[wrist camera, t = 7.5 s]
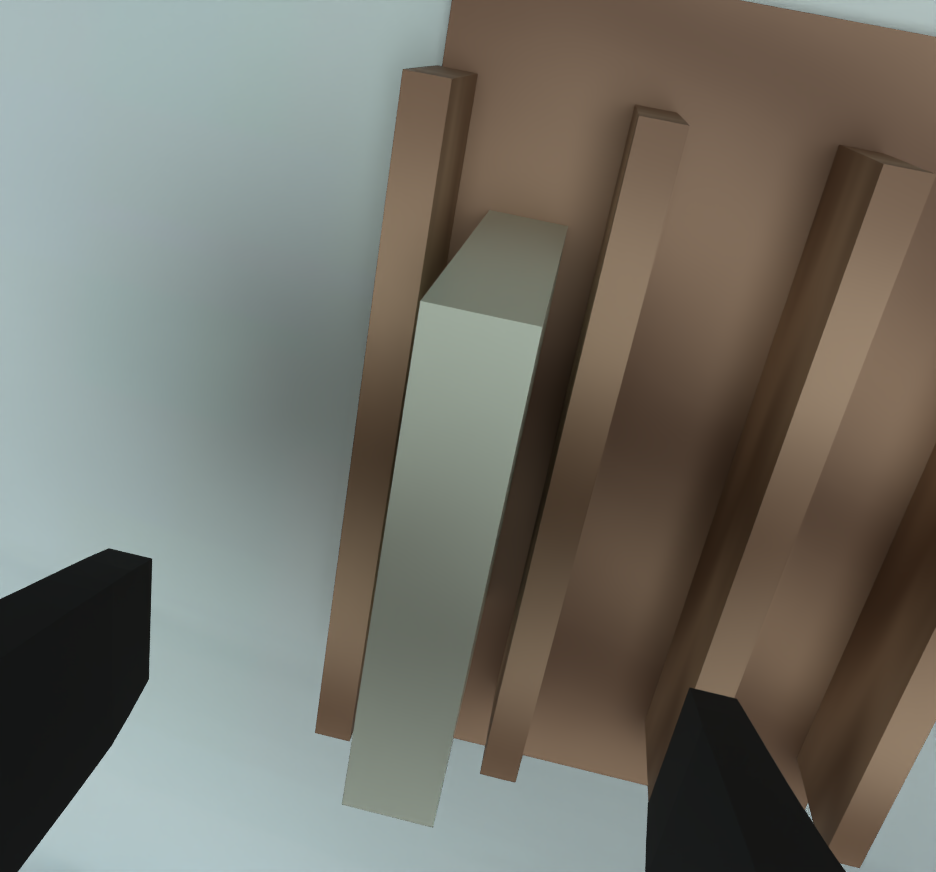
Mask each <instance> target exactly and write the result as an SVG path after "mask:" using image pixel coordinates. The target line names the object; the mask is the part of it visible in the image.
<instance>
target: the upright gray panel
mask: <svg viewBox="0 0 936 872" xmlns="http://www.w3.org/2000/svg"><path fill="white" fill-rule="evenodd" d="M567 229H568V226H565V225H560V224H555V223H550V222H546V221H541V220H536V219H531V218H526V217H521V216H516V215H512V214H507V213H502V212H497V211H492V210H489V211H488V213H487V214H486V215H485V217H484V218H483V219H482V221H481V222H480V223H479V225H478V226H477V227H476V228H475V230H474V231H473V232H472V234H471V235H470V236H469V238H468V239H467V240H466V242H465V243H464V244H463V246H462V247H461V248H460V250H459V251H458V252H457V253H456V255H455V256H454V257H453V259H452V260H451V261H450V263H449V264H448V265H447V267H446V268H445V269H444V271H443V272H442V273H441V274H440V276H439V277H438V278H437V280H436V281H435V282H434V284H433V285H432V286H431V288H430V289H429V290H428V292H427V293H426V294H425V296H424V297H423V298H422V299H421V301H420V307H419V313H418V320H417V326H416V332H415V339H414V345H413V352H412V358H411V364H410V371H409V377H408V384H407V390H406V396H405V403H404V409H403V416H402V422H401V429H400V435H399V441H398V448H397V454H396V461H395V467H394V473H393V480H392V486H391V493H390V499H389V506H388V512H387V518H386V525H385V531H384V538H383V544H382V550H381V557H380V563H379V570H378V576H377V582H376V589H375V595H374V602H373V608H372V615H371V621H370V627H369V634H368V640H367V647H366V653H365V659H364V666H363V672H362V679H361V685H360V692H359V698H358V704H357V711H356V717H355V724H354V730H353V736H352V743H351V749H350V756H349V762H348V769H347V775H346V781H345V788H344V794H343V801H342V805H346V806H350V807H354V808H358V809H362V810H366V811H369V812H373V813H377V814H381V815H385V816H389V817H393V818H397V819H401V820H405V821H409V822H413V823H417V824H421V825H425V826H429V827H433V825H434V821H435V816H436V812H437V808H438V804H439V799H440V795H441V791H442V786H443V782H444V778H445V773H446V769H447V765H448V760H449V756H450V752H451V747H452V743H453V739H454V735H455V730H456V726H457V722H458V717H459V713H460V709H461V704H462V700H463V696H464V691H465V687H466V683H467V679H468V674H469V670H470V666H471V661H472V657H473V653H474V648H475V644H476V640H477V635H478V631H479V627H480V623H481V618H482V614H483V610H484V605H485V601H486V597H487V592H488V588H489V583H490V579H491V574H492V569H493V565H494V560H495V556H496V551H497V547H498V542H499V538H500V533H501V529H502V524H503V520H504V515H505V511H506V506H507V501H508V497H509V492H510V488H511V483H512V479H513V474H514V470H515V465H516V461H517V456H518V452H519V447H520V443H521V438H522V433H523V429H524V424H525V420H526V415H527V411H528V406H529V402H530V397H531V393H532V388H533V384H534V379H535V375H536V370H537V365H538V361H539V356H540V352H541V347H542V343H543V338H544V334H545V329H546V325H547V320H548V316H549V311H550V307H551V302H552V297H553V293H554V288H555V284H556V279H557V275H558V270H559V266H560V261H561V257H562V252H563V248H564V243H565V239H566V234H567Z"/></svg>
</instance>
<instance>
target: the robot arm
mask: <svg viewBox="0 0 936 872" xmlns="http://www.w3.org/2000/svg"><path fill="white" fill-rule="evenodd" d="M151 582H152V559H151V558H147V557H143V556H138V555H134V554H130V553H126V552H122V551H118V550H113V549H106V550H104V551H102V552H99V553H97V554H94V555H92V556H90V557H88V558H86V559H83V560H81V561H79V562H77V563H75V564H73V565H71V566H69V567H66V568H64V569H62V570H60V571H58V572H56V573H54V574H52V575H50V576H48V577H46V578H44V579H41V580H39V581H37V582H35V583H33V584H31V585H29V586H27V587H25V588H23V589H21V590H19V591H16V592H14V593H12V594H10V595H8V596H6V597H4V598H2V599H0V872H18V871H19V869H20V868H21V867H22V865H23V864H24V863H25V861H26V860H27V859H28V857H29V856H30V855H31V853H32V852H33V851H34V849H35V848H36V847H37V845H38V844H39V843H40V841H41V840H42V839H43V837H44V836H45V835H46V833H47V832H48V831H49V829H50V828H51V827H52V825H53V824H54V823H55V821H56V820H57V819H58V817H59V816H60V815H61V813H62V812H63V811H64V809H65V808H66V807H67V805H68V804H69V803H70V801H71V800H72V799H73V797H74V796H75V795H76V793H77V792H78V791H79V789H80V788H81V787H82V785H83V784H84V783H85V781H86V780H87V778H88V777H89V776H90V774H91V773H92V772H93V770H94V769H95V768H96V766H97V765H98V764H99V762H100V761H101V759H102V758H103V757H104V755H105V754H106V752H107V751H108V750H109V748H110V747H111V746H112V744H113V742H114V740H115V739H116V737H117V735H118V734H119V732H120V730H121V728H122V727H123V725H124V723H125V722H126V720H127V718H128V716H129V715H130V713H131V711H132V709H133V707H134V705H135V704H136V702H137V700H138V698H139V696H140V694H141V693H142V691H143V689H144V687H145V685H146V684H147V682H148V680H149V653H150V617H151ZM645 872H846V871H845V870H844V869H843V867H842V866H841V864H840V863H839V861H838V860H837V858H836V857H835V855H834V854H833V853H832V851H831V850H830V848H829V847H828V845H827V844H826V842H825V841H824V839H823V838H822V836H821V834H820V833H819V831H818V830H817V828H816V827H815V825H814V824H813V822H812V821H811V819H810V818H809V816H808V814H807V813H806V811H805V810H804V808H803V807H802V805H801V804H800V802H799V800H798V799H797V797H796V796H795V794H794V792H793V791H792V789H791V788H790V786H789V784H788V783H787V781H786V779H785V778H784V776H783V774H782V773H781V771H780V769H779V768H778V766H777V764H776V763H775V761H774V759H773V758H772V756H771V754H770V753H769V751H768V749H767V748H766V746H765V744H764V743H763V741H762V739H761V738H760V736H759V734H758V733H757V731H756V729H755V728H754V726H753V724H752V722H751V721H750V719H749V718H748V716H747V714H746V713H745V711H744V709H743V708H742V706H741V704H740V703H739V701H738V699H736V698H732V697H728V696H724V695H719V694H715V693H711V692H707V691H703V690H699V689H694V688H690V687H689V690H688V693H687V695H686V698H685V701H684V704H683V707H682V709H681V712H680V715H679V718H678V721H677V723H676V726H675V729H674V732H673V735H672V737H671V740H670V743H669V746H668V749H667V752H666V754H665V757H664V760H663V763H662V766H661V768H660V771H659V774H658V777H657V780H656V782H655V785H654V788H653V791H652V794H651V797H650V799H649V802H648V814H647V836H646V866H645Z"/></svg>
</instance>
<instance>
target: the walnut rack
mask: <svg viewBox="0 0 936 872" xmlns="http://www.w3.org/2000/svg"><path fill="white" fill-rule="evenodd" d="M489 210H492V211H497V212H502V213H507V214H512V215H516V216H521V217H526V218H531V219H536V220H541V221H546V222H550V223H555V224H560V225H565V226H568V229H567V234H566V239H565V243H564V248H563V252H562V257H561V261H560V266H559V270H558V275H557V279H556V284H555V288H554V293H553V297H552V302H551V307H550V311H549V316H548V320H547V325H546V329H545V334H544V338H543V343H542V347H541V352H540V356H539V361H538V365H537V370H536V375H535V379H534V384H533V388H532V393H531V397H530V402H529V406H528V411H527V415H526V420H525V424H524V429H523V433H522V438H521V443H520V447H519V452H518V456H517V461H516V465H515V470H514V474H513V479H512V483H511V488H510V492H509V497H508V501H507V506H506V511H505V515H504V520H503V524H502V529H501V533H500V538H499V542H498V547H497V551H496V556H495V560H494V565H493V569H492V574H491V579H490V583H489V588H488V592H487V597H486V601H485V605H484V610H483V614H482V618H481V623H480V627H479V631H478V635H477V640H476V644H475V648H474V653H473V657H472V661H471V666H470V670H469V674H468V679H467V683H466V687H465V691H464V696H463V700H462V704H461V709H460V713H459V717H458V722H457V726H456V730H455V735H454V738H456V739H460V740H464V741H468V742H472V743H476V744H480V745H485V750H484V755H483V760H482V766H481V771H480V774H483V775H487V776H491V777H495V778H499V779H503V780H507V781H511V782H516V778H517V774H518V770H519V767H520V763H521V759H522V755H525V756H529V757H533V758H537V759H541V760H545V761H550V762H554V763H558V764H562V765H566V766H570V767H574V768H578V769H582V770H586V771H590V772H594V773H598V774H602V775H606V776H610V777H614V778H619V779H623V780H627V781H631V782H635V783H639V784H643V785H647V786H648V801H649V799H650V797H651V794H652V791H653V788H654V785H655V782H656V780H657V777H658V774H659V771H660V768H661V766H662V763H663V760H664V757H665V754H666V752H667V749H668V746H669V743H670V740H671V737H672V735H673V732H674V729H675V726H676V723H677V721H678V718H679V715H680V712H681V709H682V707H683V704H684V701H685V698H686V695H687V693H688V690H689V687H690V688H694V689H699V690H703V691H707V692H711V693H715V694H719V695H724V696H728V697H732V698H736V699H738V701H739V703H740V704H741V706H742V708H743V709H744V711H745V713H746V714H747V716H748V718H749V719H750V721H751V722H752V724H753V726H754V728H755V729H756V731H757V733H758V734H759V736H760V738H761V739H762V741H763V743H764V744H765V746H766V748H767V749H768V751H769V753H770V754H771V756H772V758H773V759H774V761H775V763H776V764H777V766H778V768H779V769H780V771H781V773H782V774H783V776H784V778H785V779H786V781H787V783H788V784H789V786H790V788H791V789H792V791H793V792H794V794H795V796H796V797H797V799H798V800H799V802H800V804H801V805H802V807H803V808H804V810H805V808H806V806H807V804H809V808H810V812H811V816H812V820H813V823H814V825H815V827H816V828H817V830H818V831H819V833H820V834H821V836H822V838H823V839H824V841H825V842H826V844H827V845H828V847H829V848H830V850H831V851H832V853H833V854H834V855H835V857H836V858H837V860H838V861H839V863H841V864H845V865H849V866H853V867H857V868H860V867H861V865H862V863H863V861H864V859H865V857H866V855H867V853H868V851H869V849H870V847H871V845H872V843H873V841H874V839H875V838H876V836H877V834H878V832H879V830H880V828H881V826H882V824H883V822H884V820H885V818H886V816H887V814H888V812H889V810H890V808H891V807H892V805H893V803H894V801H895V799H896V797H897V795H898V793H899V791H900V789H901V787H902V785H903V783H904V781H905V779H906V778H907V776H908V774H909V772H910V770H911V768H912V766H913V764H914V762H915V760H916V758H917V756H918V754H919V752H920V750H921V748H922V747H923V745H924V743H925V741H926V739H927V737H928V735H929V733H930V731H931V729H932V727H933V725H934V723H935V721H936V37H933V36H928V35H923V34H917V33H912V32H907V31H901V30H896V29H891V28H885V27H880V26H875V25H869V24H864V23H859V22H853V21H848V20H843V19H837V18H832V17H826V16H821V15H816V14H810V13H805V12H800V11H794V10H789V9H784V8H778V7H773V6H768V5H762V4H757V3H752V2H746V1H741V0H452V4H451V10H450V17H449V24H448V30H447V37H446V44H445V50H444V57H443V64H442V66H427V67H418V68H409V69H403V72H402V79H401V87H400V95H399V102H398V110H397V117H396V125H395V132H394V140H393V147H392V155H391V163H390V170H389V178H388V185H387V193H386V200H385V208H384V215H383V223H382V231H381V238H380V246H379V253H378V261H377V268H376V276H375V284H374V291H373V299H372V306H371V314H370V321H369V329H368V336H367V344H366V352H365V359H364V367H363V374H362V382H361V389H360V397H359V404H358V412H357V420H356V427H355V435H354V442H353V450H352V457H351V465H350V472H349V480H348V488H347V495H346V503H345V510H344V518H343V525H342V533H341V540H340V548H339V556H338V563H337V571H336V578H335V586H334V593H333V601H332V609H331V616H330V624H329V631H328V639H327V646H326V654H325V661H324V669H323V677H322V684H321V692H320V699H319V707H318V714H317V722H316V729H315V733H318V734H322V735H326V736H330V737H334V738H338V739H342V740H346V741H350V739H351V736H352V733H353V730H354V724H355V717H356V711H357V704H358V698H359V692H360V685H361V679H362V672H363V666H364V659H365V653H366V647H367V640H368V634H369V627H370V621H371V615H372V608H373V602H374V595H375V589H376V582H377V576H378V570H379V563H380V557H381V550H382V544H383V538H384V531H385V525H386V518H387V512H388V506H389V499H390V493H391V486H392V480H393V473H394V467H395V461H396V454H397V448H398V441H399V435H400V429H401V422H402V416H403V409H404V403H405V396H406V390H407V384H408V377H409V371H410V364H411V358H412V352H413V345H414V339H415V332H416V326H417V320H418V313H419V307H420V301H421V299H422V298H423V297H424V296H425V294H426V293H427V292H428V290H429V289H430V288H431V286H432V285H433V284H434V282H435V281H436V280H437V278H438V277H439V276H440V274H441V273H442V272H443V271H444V269H445V268H446V267H447V265H448V264H449V263H450V261H451V260H452V259H453V257H454V256H455V255H456V253H457V252H458V251H459V250H460V248H461V247H462V246H463V244H464V243H465V242H466V240H467V239H468V238H469V236H470V235H471V234H472V232H473V231H474V230H475V228H476V227H477V226H478V225H479V223H480V222H481V221H482V219H483V218H484V217H485V215H486V214H487V213H488V211H489Z"/></svg>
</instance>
